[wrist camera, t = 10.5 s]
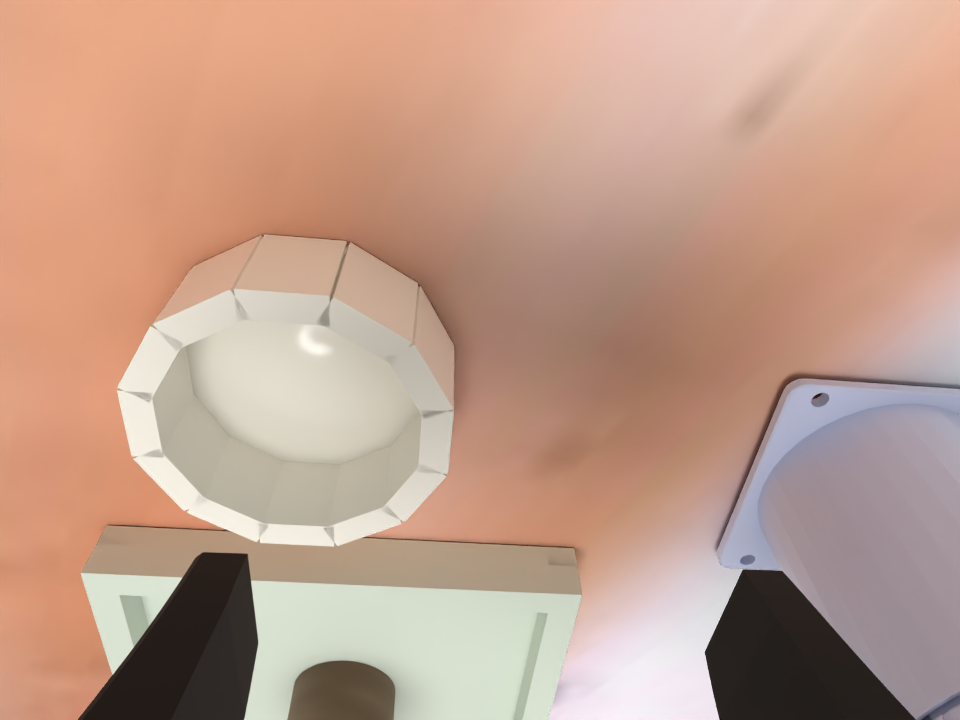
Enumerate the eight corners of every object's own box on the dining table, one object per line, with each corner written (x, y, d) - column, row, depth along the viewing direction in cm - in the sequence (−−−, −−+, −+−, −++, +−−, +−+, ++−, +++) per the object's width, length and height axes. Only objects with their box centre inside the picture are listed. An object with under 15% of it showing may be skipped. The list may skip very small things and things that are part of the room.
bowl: (463, 250, 19) (464, 306, 16) (441, 480, 23) (439, 551, 21) (142, 224, 18) (91, 277, 15) (183, 465, 22) (149, 537, 20)
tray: (573, 548, 25) (582, 595, 23) (516, 777, 34) (519, 823, 32) (106, 525, 24) (80, 572, 22) (172, 769, 33) (157, 816, 31)
